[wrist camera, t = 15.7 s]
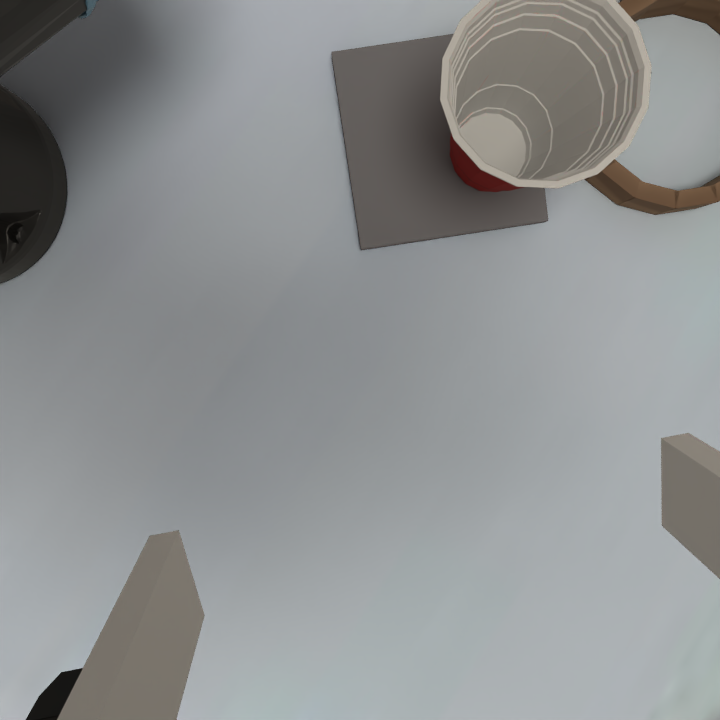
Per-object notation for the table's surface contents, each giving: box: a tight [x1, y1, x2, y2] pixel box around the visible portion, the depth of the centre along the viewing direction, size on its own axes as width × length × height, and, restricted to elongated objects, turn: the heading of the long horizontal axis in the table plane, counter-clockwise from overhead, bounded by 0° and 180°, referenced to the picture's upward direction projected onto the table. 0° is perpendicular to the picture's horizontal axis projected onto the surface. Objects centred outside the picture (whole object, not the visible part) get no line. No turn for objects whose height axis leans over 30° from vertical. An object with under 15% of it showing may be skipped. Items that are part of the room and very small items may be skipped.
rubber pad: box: [332, 34, 548, 250], centre depth 39 cm, size 14×14×1 cm
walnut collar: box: [586, 0, 720, 215], centre depth 38 cm, size 15×18×4 cm
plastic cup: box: [440, 0, 651, 192], centre depth 33 cm, size 11×11×12 cm
